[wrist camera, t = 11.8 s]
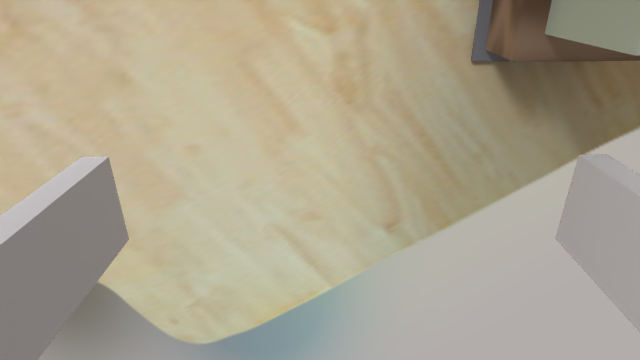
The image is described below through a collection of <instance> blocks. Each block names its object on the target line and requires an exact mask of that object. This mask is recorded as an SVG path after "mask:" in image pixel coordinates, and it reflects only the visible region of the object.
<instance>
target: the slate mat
mask: <svg viewBox="0 0 640 360" xmlns="http://www.w3.org/2000/svg"><path fill="white" fill-rule="evenodd" d="M492 4H493V0H480V2H479V9H478V16H477V23H476V30H475V37H474V44H473V51H472V58H471V61H511V60H508V59H506V58H504V57H501V56H499V55H496V54H494V53H492V52H489V51H487V50H485V49H486V42H487V36H488V30H489V23H490V17H491V10H492Z"/></svg>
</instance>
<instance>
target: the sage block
mask: <svg viewBox="0 0 640 360" xmlns="http://www.w3.org/2000/svg"><path fill="white" fill-rule="evenodd" d="M545 34H546V35H550V36H555V37H559V38H563V39H567V40H572V41H576V42H580V43H584V44H588V45H593V46H597V47H601V48H605V49H609V50H614V51H618V52H622V53H626V54H630V55H635V56H640V0H552V2H551V6H550V11H549V16H548V21H547V25H546V30H545Z"/></svg>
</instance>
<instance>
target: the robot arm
mask: <svg viewBox="0 0 640 360" xmlns="http://www.w3.org/2000/svg"><path fill="white" fill-rule="evenodd" d="M128 240H129V238H128V234H127V230H126V226H125V221H124V217H123V213H122V209H121V205H120V201H119V197H118V193H117V189H116V185H115V181H114V177H113V173H112V169H111V165H110V161H109V157H81V158H80V159H78V160H77V161H75V162H74V163H73V164H71V165H70V166H69V167H67V168H66V169H64V170H63V171H62V172H60V173H59V174H57V175H56V176H55V177H53V178H52V179H51V180H49V181H48V182H46V183H45V184H44V185H42V186H41V187H39V188H38V189H37V190H35V191H34V192H33V193H31V194H30V195H28V196H27V197H26V198H24V199H23V200H21V201H20V202H19V203H17V204H16V205H14V206H13V207H12V208H10V209H9V210H8V211H6V212H5V213H3V214H2V215H1V216H0V360H38V359H39V357H40V356H41V355H42V353H43V352H44V351H45V349H46V348H47V347H48V345H49V344H50V343H51V341H52V340H53V339H54V337H55V336H56V335H57V333H58V332H59V331H60V330H61V328H62V327H63V326H64V324H65V323H66V322H67V320H68V319H69V318H70V316H71V315H72V314H73V312H74V311H75V310H76V308H77V307H78V306H79V305H80V303H81V302H82V300H83V299H84V298H85V297H86V295H87V294H88V293H89V291H90V290H91V289H92V287H93V286H94V285H95V283H96V282H97V281H98V280H99V278H100V277H101V276H102V274H103V273H104V272H105V270H106V269H107V268H108V266H109V265H110V264H111V262H112V261H113V260H114V258H115V257H116V256H117V254H118V253H119V252H120V251H121V249H122V248H123V247H124V245H125V244H126V243H127V241H128ZM556 240H557V241H558V242H559V243H560V244H561V245H562V246H563V247H564V249H565V250H566V251H567V252H568V253H569V254H570V255H571V256H572V257H573V258H574V259H575V261H576V262H577V263H578V264H579V265H580V266H581V267H582V268H583V270H584V271H585V272H586V273H587V274H588V275H589V276H590V277H591V278H592V279H593V281H594V282H595V283H596V284H597V285H598V286H599V287H600V288H601V290H602V291H603V292H604V293H605V294H606V295H607V296H608V297H609V299H610V300H611V301H612V302H613V303H614V304H615V305H616V306H617V307H618V308H619V310H620V311H621V312H622V313H623V314H624V315H625V316H626V317H627V318H628V320H629V321H630V322H631V323H632V324H633V325H634V326H635V327H636V328H637V329H638V331H639V332H640V175H639V174H637V173H636V172H634V171H633V170H631V169H629V168H628V167H626V166H624V165H623V164H621V163H620V162H618V161H616V160H615V159H613V158H611V157H610V156H608V155H579V157H578V160H577V164H576V168H575V171H574V175H573V178H572V182H571V185H570V189H569V192H568V196H567V199H566V203H565V207H564V210H563V214H562V217H561V221H560V224H559V228H558V232H557V235H556Z"/></svg>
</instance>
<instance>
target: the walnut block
mask: <svg viewBox="0 0 640 360" xmlns="http://www.w3.org/2000/svg"><path fill="white" fill-rule="evenodd" d="M551 2H552V0H493V4H492V10H491V17H490V23H489V30H488V36H487V42H486V49H485V50H487V51H489V52H492V53H494V54H496V55H499V56H501V57H504V58H506V59H508V60H511V61H628V60H640V56H635V55H630V54H626V53H622V52H618V51H614V50H609V49H605V48H601V47H597V46H593V45H588V44H584V43H580V42H576V41H572V40H567V39H563V38H559V37H555V36H550V35H546V34H545V30H546V25H547V21H548V16H549V11H550V6H551Z"/></svg>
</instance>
